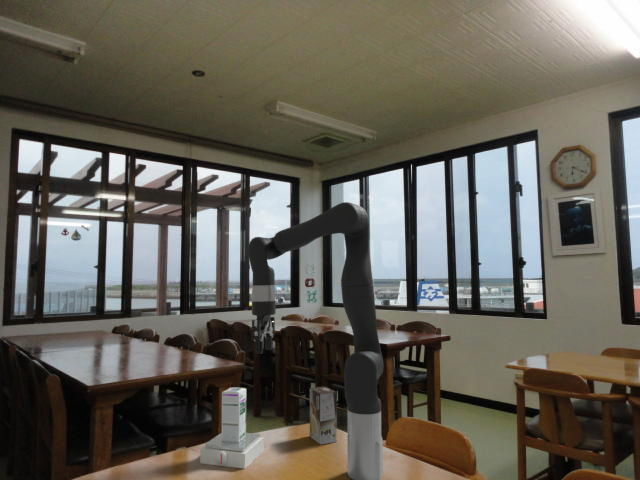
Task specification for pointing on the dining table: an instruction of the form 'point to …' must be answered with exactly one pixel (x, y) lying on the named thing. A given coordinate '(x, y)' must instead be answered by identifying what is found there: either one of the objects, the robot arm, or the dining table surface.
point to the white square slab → (232, 455)
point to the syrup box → (234, 414)
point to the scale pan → (233, 443)
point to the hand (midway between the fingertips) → (263, 351)
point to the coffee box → (323, 415)
